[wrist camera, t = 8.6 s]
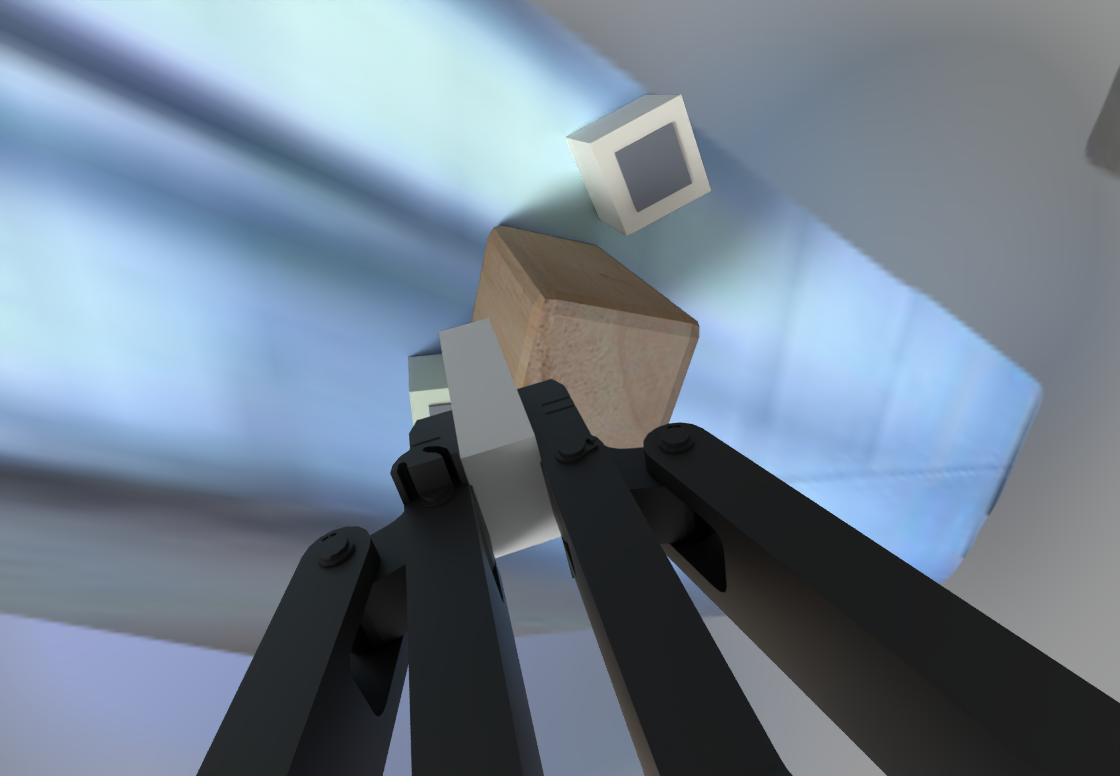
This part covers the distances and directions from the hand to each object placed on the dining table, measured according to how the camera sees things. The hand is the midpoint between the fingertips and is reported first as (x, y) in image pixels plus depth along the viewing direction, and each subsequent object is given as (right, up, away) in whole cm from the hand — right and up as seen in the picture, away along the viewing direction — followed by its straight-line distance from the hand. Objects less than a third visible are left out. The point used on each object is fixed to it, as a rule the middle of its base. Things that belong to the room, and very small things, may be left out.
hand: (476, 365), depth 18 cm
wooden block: (0, +8, +33) cm, 34 cm away
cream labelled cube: (+7, +18, +30) cm, 36 cm away
